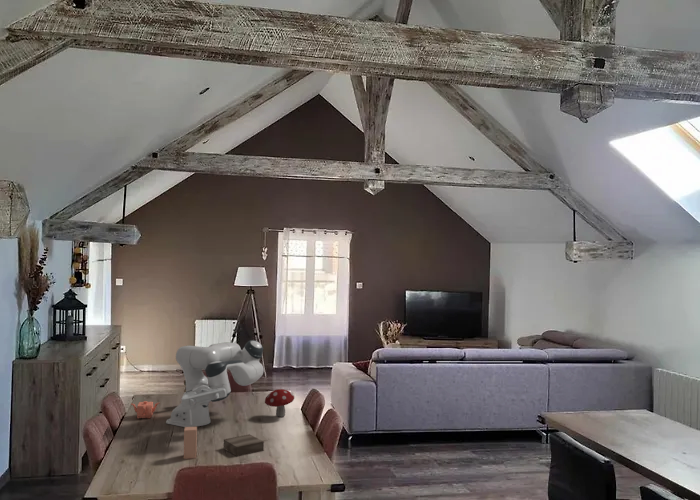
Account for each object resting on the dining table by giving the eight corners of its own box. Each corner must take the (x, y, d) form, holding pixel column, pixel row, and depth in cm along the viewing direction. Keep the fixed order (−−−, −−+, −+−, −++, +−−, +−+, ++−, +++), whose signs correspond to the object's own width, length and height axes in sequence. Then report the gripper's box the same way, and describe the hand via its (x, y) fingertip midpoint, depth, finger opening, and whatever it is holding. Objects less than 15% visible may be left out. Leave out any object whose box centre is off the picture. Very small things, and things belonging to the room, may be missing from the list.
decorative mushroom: (296, 420, 315) (297, 391, 315) (266, 422, 310) (267, 393, 310) (291, 412, 330) (291, 384, 330) (262, 414, 325) (262, 386, 326)
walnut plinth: (223, 448, 268) (223, 439, 268) (249, 443, 276) (249, 434, 276) (236, 456, 257) (237, 447, 257) (263, 450, 265) (263, 441, 265)
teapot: (158, 419, 312) (159, 403, 312) (128, 420, 309) (128, 404, 309) (160, 413, 324) (161, 398, 324) (131, 414, 320) (131, 399, 320)
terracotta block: (184, 454, 258) (185, 427, 258) (196, 454, 259) (196, 426, 259) (183, 458, 253) (184, 430, 254) (195, 458, 254) (196, 429, 255)
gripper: (226, 396, 285) (229, 401, 272) (182, 407, 279) (183, 412, 266) (223, 383, 285) (227, 387, 272) (180, 393, 279) (181, 398, 266)
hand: (205, 399), depth 269 cm, fingers open, 8 cm apart
